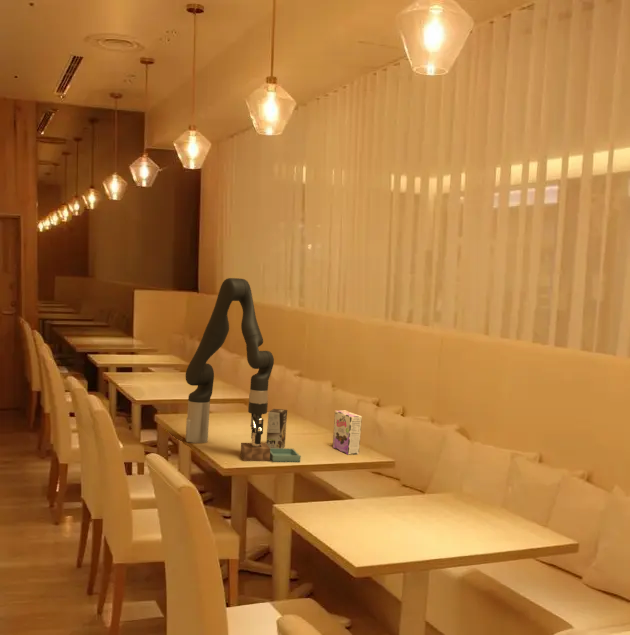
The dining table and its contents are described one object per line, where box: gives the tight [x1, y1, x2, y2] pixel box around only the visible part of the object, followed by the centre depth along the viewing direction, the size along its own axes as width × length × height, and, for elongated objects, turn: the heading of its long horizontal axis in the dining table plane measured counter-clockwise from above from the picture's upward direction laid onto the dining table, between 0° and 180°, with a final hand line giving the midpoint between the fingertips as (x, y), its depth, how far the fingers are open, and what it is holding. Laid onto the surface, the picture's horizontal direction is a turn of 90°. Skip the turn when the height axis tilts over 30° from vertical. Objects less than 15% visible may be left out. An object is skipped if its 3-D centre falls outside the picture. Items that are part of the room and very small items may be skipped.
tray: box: [270, 448, 301, 463], centre depth 314 cm, size 11×13×2 cm
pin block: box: [240, 442, 271, 462], centre depth 311 cm, size 10×10×5 cm
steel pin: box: [251, 432, 260, 447], centre depth 311 cm, size 3×3×10 cm
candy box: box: [332, 409, 363, 455], centre depth 335 cm, size 14×6×16 cm, turn 27°
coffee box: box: [265, 408, 288, 449], centre depth 331 cm, size 9×6×16 cm
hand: (255, 441), depth 311 cm, fingers open, 8 cm apart
